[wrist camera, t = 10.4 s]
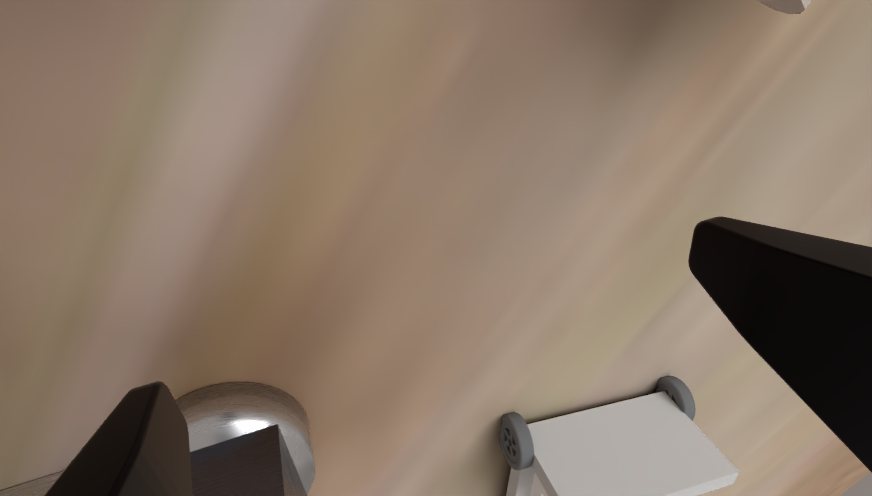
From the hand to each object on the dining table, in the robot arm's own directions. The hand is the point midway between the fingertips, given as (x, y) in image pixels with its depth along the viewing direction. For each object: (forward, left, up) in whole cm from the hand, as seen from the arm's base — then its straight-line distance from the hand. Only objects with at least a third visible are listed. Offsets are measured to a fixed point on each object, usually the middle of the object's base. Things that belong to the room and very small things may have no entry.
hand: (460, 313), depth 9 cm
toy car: (-10, +28, -13) cm, 32 cm away
